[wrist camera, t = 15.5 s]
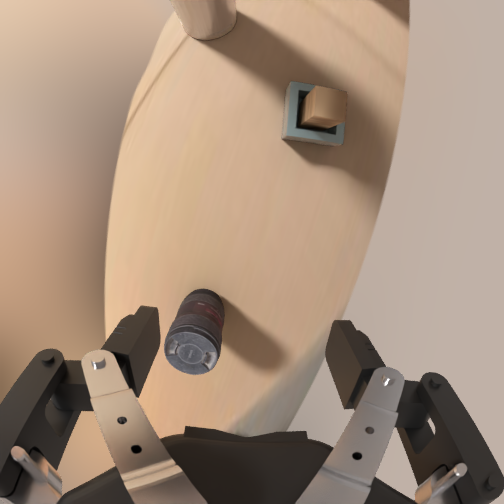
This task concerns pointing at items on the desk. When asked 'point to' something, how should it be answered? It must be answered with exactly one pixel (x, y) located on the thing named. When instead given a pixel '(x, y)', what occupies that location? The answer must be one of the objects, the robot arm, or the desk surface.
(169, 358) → the camera lens
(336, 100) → the tan wooden block
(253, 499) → the robot arm
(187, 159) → the desk surface
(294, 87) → the slate open square box
